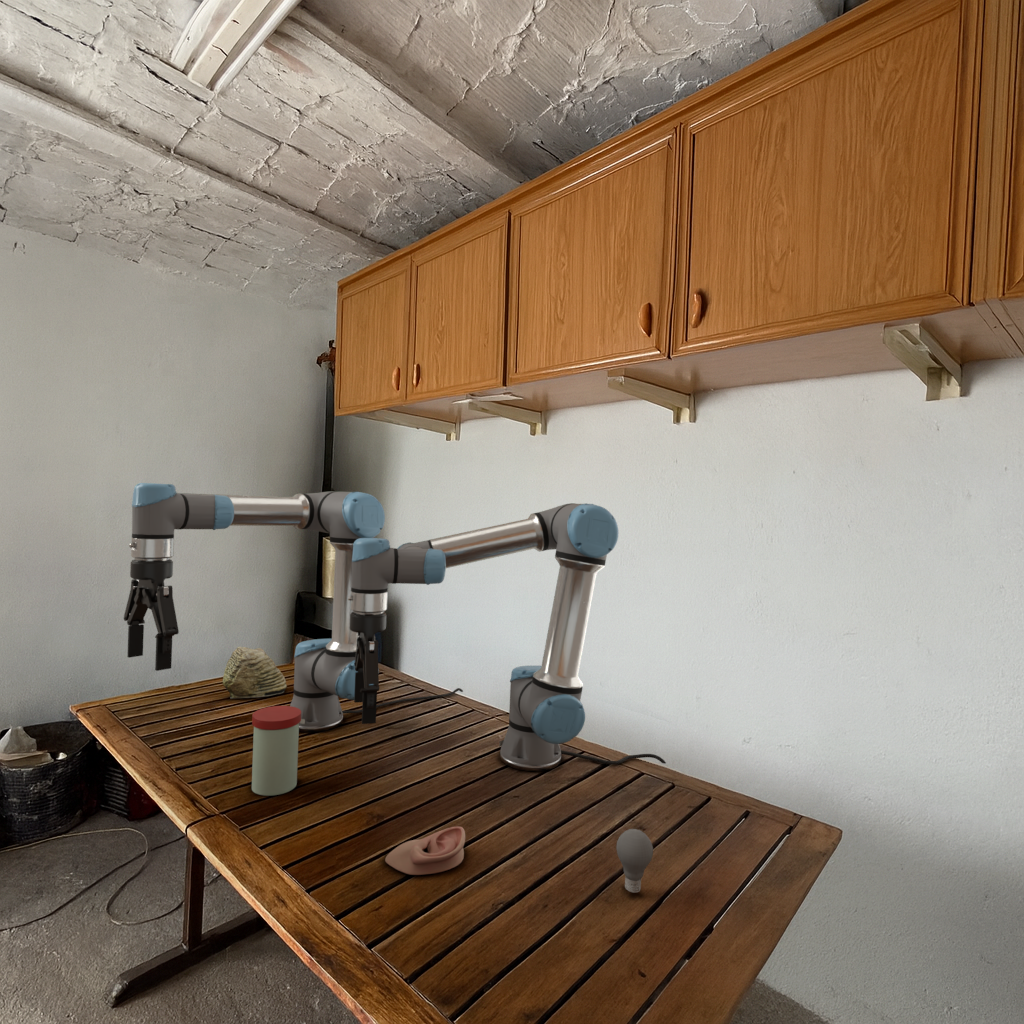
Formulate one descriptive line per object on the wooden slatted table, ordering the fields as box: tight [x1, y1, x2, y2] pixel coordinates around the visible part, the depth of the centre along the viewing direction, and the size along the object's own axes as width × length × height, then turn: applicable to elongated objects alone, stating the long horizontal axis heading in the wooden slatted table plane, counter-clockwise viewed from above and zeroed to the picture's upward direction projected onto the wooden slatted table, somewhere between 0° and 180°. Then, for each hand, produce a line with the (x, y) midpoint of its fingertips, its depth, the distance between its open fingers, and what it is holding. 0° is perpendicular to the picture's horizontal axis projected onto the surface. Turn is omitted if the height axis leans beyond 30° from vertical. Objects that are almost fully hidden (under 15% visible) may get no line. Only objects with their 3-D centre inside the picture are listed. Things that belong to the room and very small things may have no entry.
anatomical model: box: [384, 826, 466, 876], centre depth 113 cm, size 13×4×12 cm
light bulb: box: [615, 828, 654, 894], centre depth 106 cm, size 6×6×10 cm
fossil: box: [222, 646, 288, 699], centre depth 198 cm, size 9×18×15 cm, turn 132°
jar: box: [251, 723, 300, 797], centre depth 138 cm, size 9×9×16 cm
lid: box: [251, 705, 301, 730], centre depth 138 cm, size 10×10×2 cm
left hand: (148, 662), depth 129 cm, fingers open, 13 cm apart
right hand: (364, 712), depth 133 cm, fingers open, 13 cm apart
